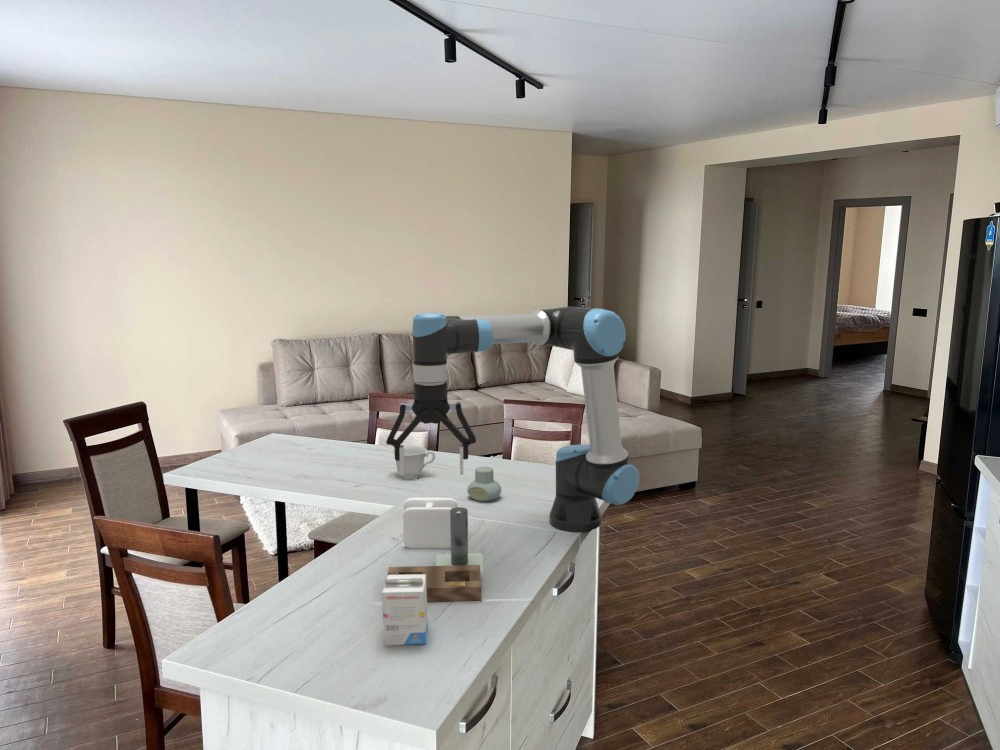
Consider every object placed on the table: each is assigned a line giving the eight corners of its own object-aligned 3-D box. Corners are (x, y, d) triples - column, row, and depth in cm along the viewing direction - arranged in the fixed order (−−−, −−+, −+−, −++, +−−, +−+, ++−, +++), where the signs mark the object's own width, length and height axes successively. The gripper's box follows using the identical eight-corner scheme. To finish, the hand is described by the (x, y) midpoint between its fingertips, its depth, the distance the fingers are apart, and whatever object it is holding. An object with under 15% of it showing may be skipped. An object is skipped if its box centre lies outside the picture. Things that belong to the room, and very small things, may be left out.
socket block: (480, 578, 180) (479, 564, 179) (481, 601, 168) (481, 586, 167) (389, 580, 178) (389, 566, 178) (384, 603, 167) (383, 588, 166)
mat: (482, 555, 193) (482, 552, 193) (483, 574, 182) (483, 572, 181) (436, 556, 193) (436, 553, 193) (435, 575, 181) (435, 573, 181)
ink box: (428, 624, 157) (427, 565, 155) (425, 645, 149) (424, 583, 147) (388, 625, 157) (386, 566, 155) (383, 646, 149) (381, 584, 147)
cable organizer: (400, 551, 196) (399, 509, 194) (405, 535, 207) (404, 496, 205) (456, 550, 196) (456, 509, 194) (458, 535, 207) (458, 496, 205)
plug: (468, 559, 189) (467, 507, 187) (468, 566, 185) (467, 513, 183) (450, 559, 189) (450, 507, 187) (450, 566, 185) (450, 513, 182)
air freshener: (463, 499, 237) (463, 469, 235) (476, 492, 244) (475, 463, 242) (493, 505, 232) (493, 474, 230) (505, 497, 239) (505, 467, 237)
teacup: (433, 482, 254) (433, 454, 252) (390, 482, 254) (389, 454, 253) (437, 472, 266) (436, 445, 264) (396, 472, 266) (395, 445, 265)
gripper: (485, 378, 169) (485, 467, 173) (376, 380, 168) (379, 469, 171) (486, 384, 162) (487, 477, 165) (372, 385, 161) (375, 479, 164)
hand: (432, 473), depth 168 cm, fingers open, 13 cm apart
